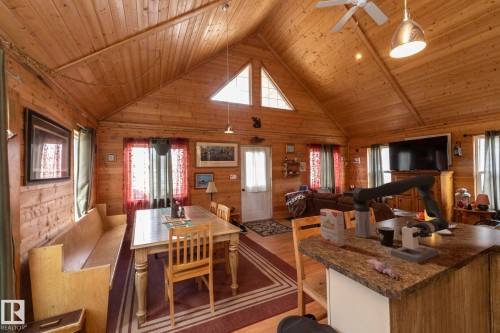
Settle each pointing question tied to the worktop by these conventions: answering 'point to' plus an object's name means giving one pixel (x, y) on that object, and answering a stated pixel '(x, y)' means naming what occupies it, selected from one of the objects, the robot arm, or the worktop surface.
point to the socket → (415, 253)
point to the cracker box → (332, 227)
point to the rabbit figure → (384, 268)
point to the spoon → (446, 230)
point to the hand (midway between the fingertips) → (407, 234)
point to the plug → (409, 236)
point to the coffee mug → (386, 236)
